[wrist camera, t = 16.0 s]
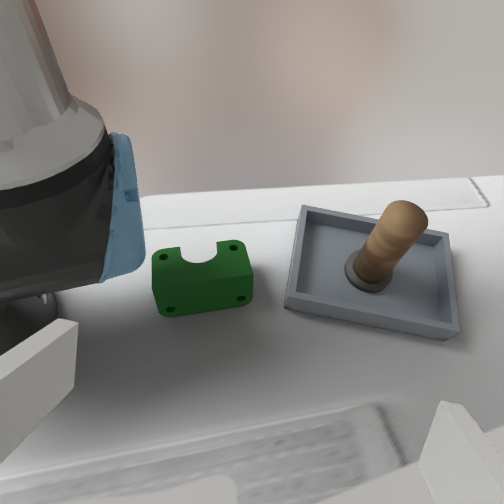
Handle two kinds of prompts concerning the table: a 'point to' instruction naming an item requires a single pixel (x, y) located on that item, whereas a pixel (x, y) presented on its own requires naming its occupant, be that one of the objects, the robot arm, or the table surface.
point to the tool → (385, 246)
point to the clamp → (201, 280)
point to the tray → (371, 304)
